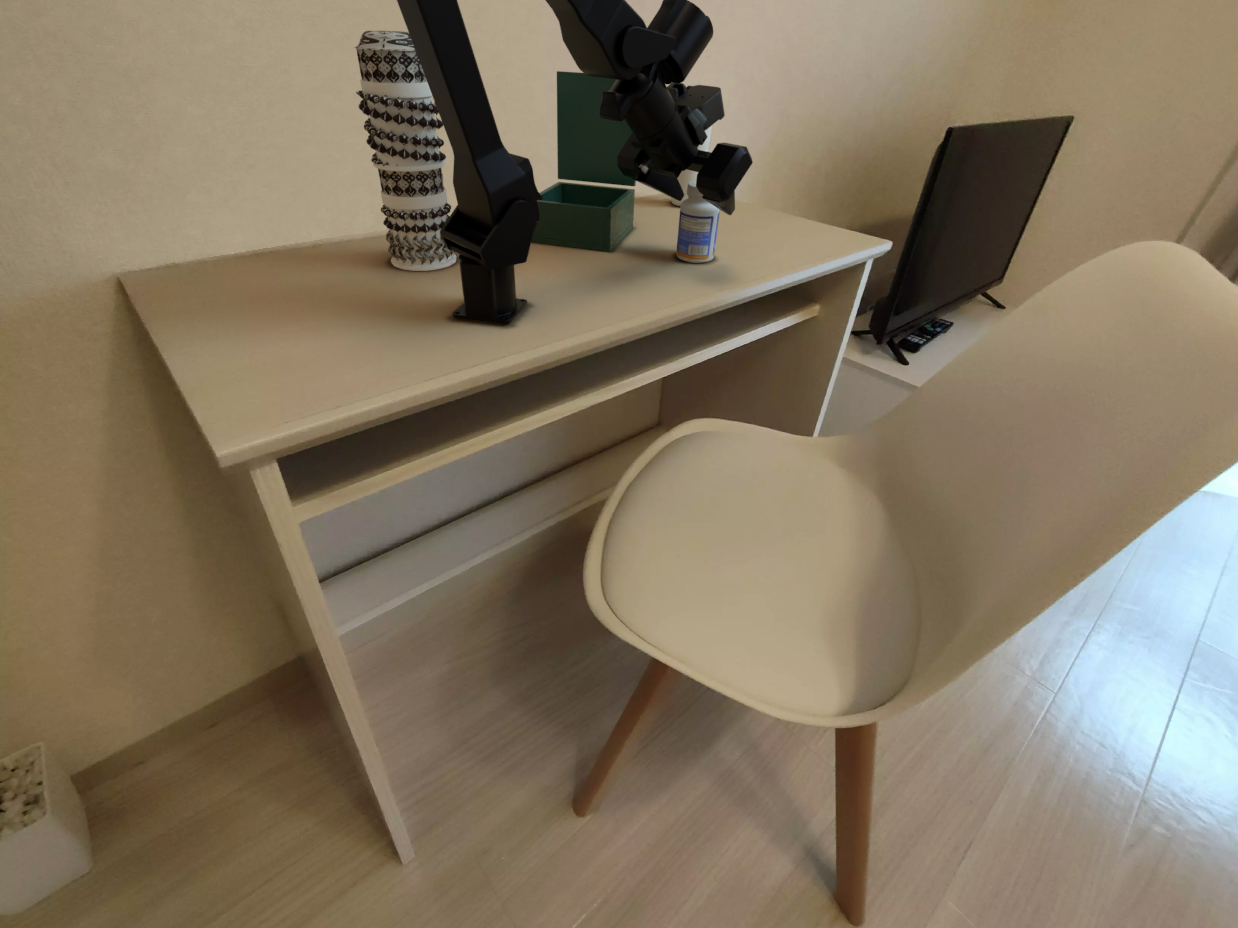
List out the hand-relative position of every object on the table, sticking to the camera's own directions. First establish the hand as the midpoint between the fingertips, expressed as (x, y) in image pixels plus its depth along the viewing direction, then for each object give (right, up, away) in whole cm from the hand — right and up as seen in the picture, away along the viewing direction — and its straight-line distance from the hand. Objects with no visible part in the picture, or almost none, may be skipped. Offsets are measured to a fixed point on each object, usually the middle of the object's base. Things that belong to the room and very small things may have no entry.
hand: (706, 205), depth 83 cm
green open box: (-18, 0, +11) cm, 21 cm away
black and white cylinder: (-38, -8, -2) cm, 39 cm away
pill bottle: (-1, -6, +4) cm, 7 cm away
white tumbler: (0, +12, +29) cm, 31 cm away
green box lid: (-15, +15, +8) cm, 23 cm away
